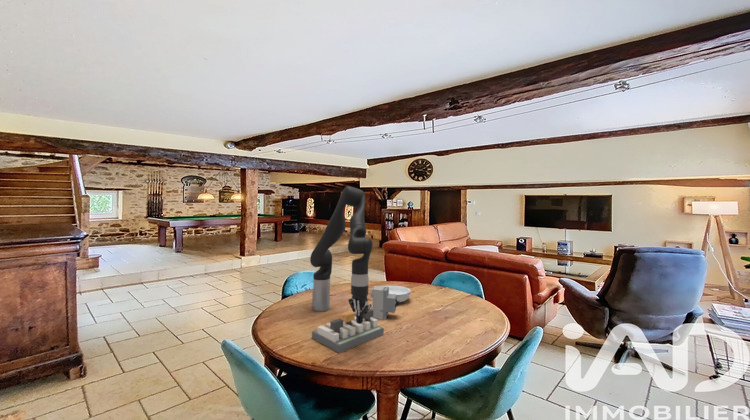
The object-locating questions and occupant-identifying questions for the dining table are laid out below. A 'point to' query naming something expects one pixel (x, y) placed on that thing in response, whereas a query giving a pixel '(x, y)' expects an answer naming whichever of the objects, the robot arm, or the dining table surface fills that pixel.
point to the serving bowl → (400, 292)
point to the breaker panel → (350, 343)
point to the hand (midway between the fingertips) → (359, 323)
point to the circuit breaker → (383, 302)
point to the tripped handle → (348, 317)
